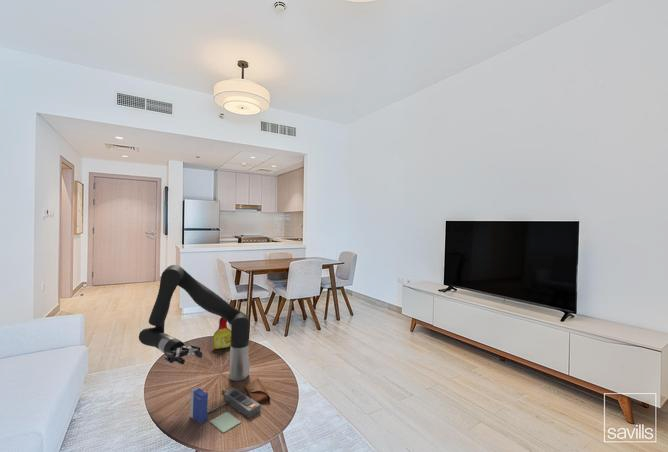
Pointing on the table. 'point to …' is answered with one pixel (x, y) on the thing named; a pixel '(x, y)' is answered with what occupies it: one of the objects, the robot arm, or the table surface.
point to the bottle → (222, 335)
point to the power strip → (239, 403)
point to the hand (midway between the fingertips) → (192, 358)
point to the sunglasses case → (257, 392)
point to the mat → (225, 422)
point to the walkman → (198, 405)
